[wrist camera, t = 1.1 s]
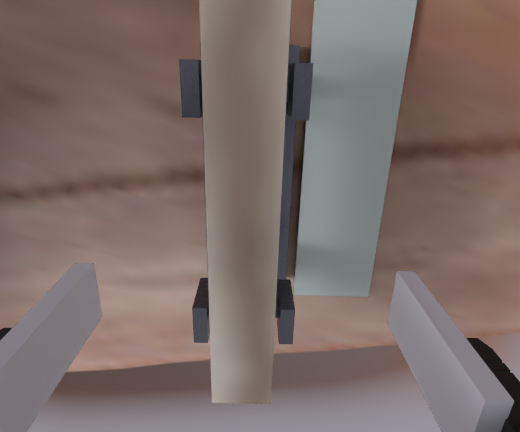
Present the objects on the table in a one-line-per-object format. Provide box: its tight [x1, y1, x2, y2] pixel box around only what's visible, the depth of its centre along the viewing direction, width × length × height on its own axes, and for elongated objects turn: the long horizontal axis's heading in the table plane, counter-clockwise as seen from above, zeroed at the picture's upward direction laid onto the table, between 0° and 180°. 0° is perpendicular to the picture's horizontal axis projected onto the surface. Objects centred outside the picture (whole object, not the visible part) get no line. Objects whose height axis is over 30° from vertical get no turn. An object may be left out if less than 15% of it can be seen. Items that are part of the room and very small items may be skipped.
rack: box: [179, 43, 313, 344], centre depth 28 cm, size 8×22×12 cm, turn 178°
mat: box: [293, 0, 417, 297], centre depth 34 cm, size 8×28×1 cm, turn 179°
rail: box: [199, 0, 291, 404], centre depth 23 cm, size 4×24×6 cm, turn 178°
